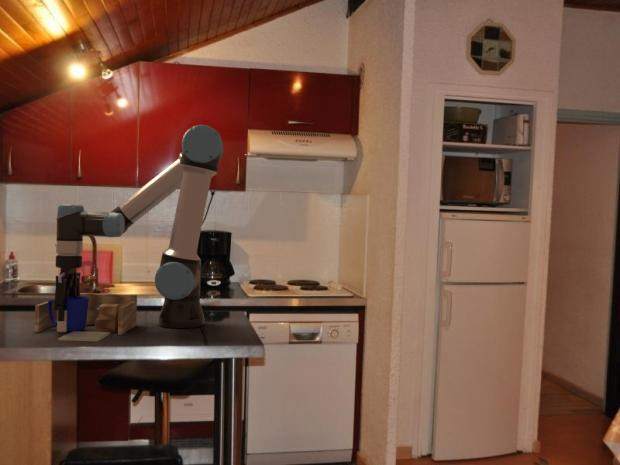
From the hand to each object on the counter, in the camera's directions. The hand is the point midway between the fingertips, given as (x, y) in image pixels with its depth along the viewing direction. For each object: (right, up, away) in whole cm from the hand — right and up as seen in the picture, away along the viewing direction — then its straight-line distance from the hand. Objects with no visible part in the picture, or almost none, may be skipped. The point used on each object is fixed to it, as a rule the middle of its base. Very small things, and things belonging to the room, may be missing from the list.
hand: (66, 329), depth 179 cm
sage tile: (+9, -1, -10) cm, 14 cm away
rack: (+5, 0, +4) cm, 6 cm away
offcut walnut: (+12, -1, +3) cm, 12 cm away
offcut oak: (+12, +3, +2) cm, 13 cm away
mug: (0, 0, 0) cm, 0 cm away
